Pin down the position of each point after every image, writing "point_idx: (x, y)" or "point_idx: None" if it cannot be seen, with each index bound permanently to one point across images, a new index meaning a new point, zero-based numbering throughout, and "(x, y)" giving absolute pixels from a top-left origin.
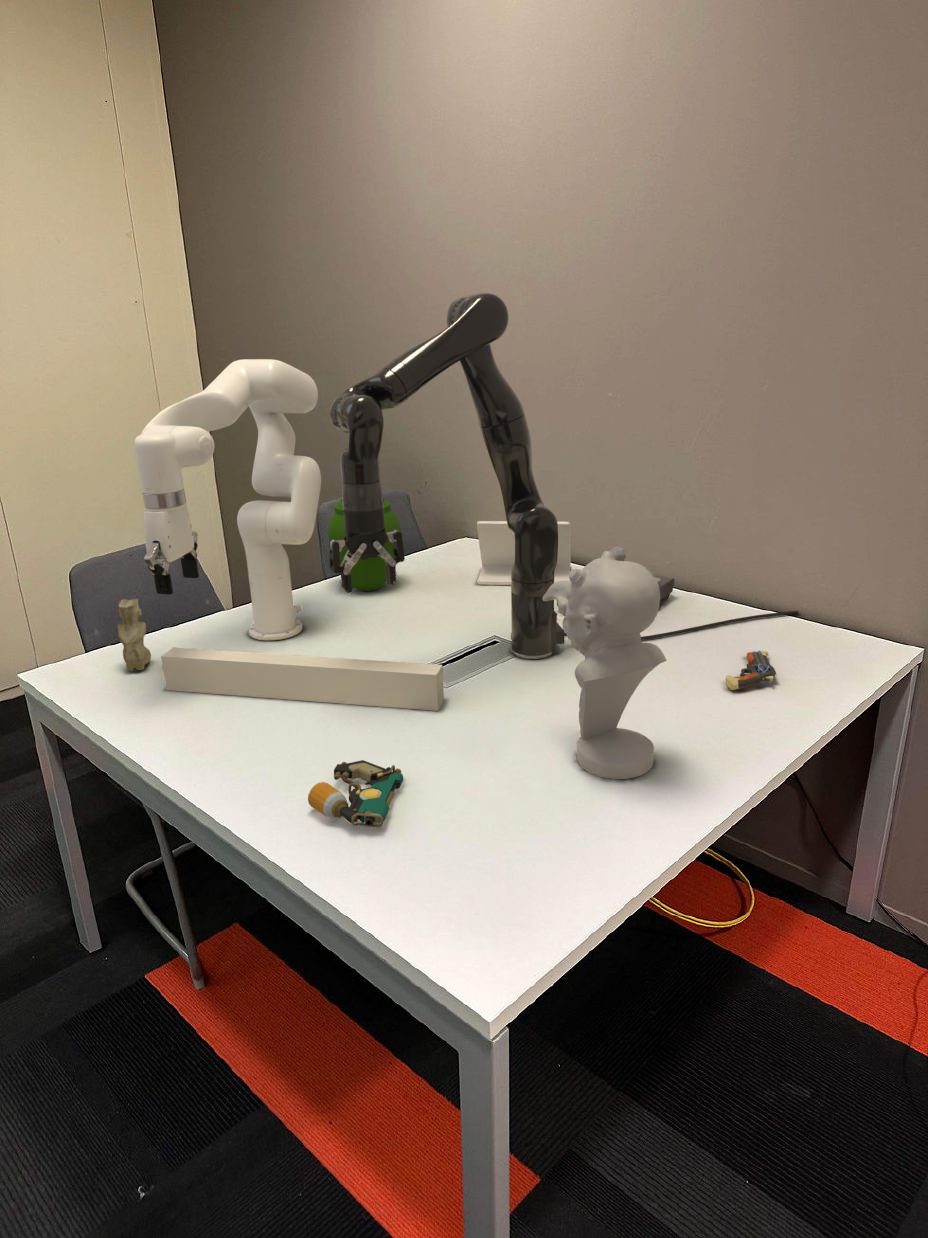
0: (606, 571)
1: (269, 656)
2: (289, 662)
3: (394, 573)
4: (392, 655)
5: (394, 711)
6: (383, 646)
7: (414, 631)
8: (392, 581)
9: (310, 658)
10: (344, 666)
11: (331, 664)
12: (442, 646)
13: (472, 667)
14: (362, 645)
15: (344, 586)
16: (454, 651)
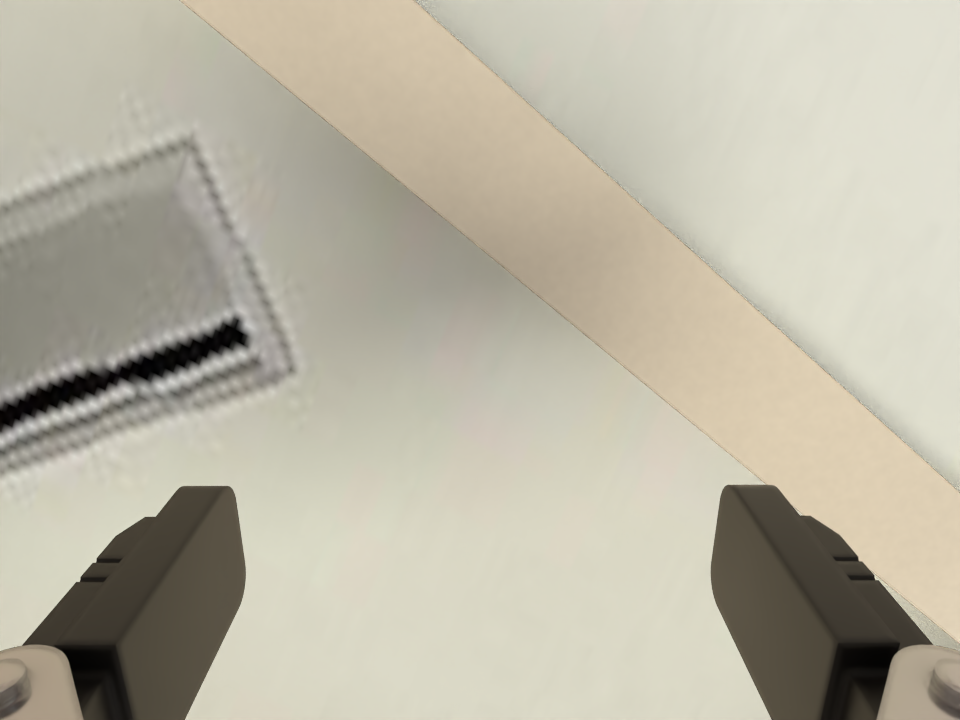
0: None
1: (913, 562)
2: (874, 455)
3: (95, 586)
4: (301, 545)
5: (488, 31)
6: (306, 631)
7: None
8: (185, 503)
9: (767, 450)
10: (670, 268)
11: (715, 328)
12: (83, 529)
13: (16, 280)
14: (376, 673)
15: (845, 552)
16: (48, 463)
